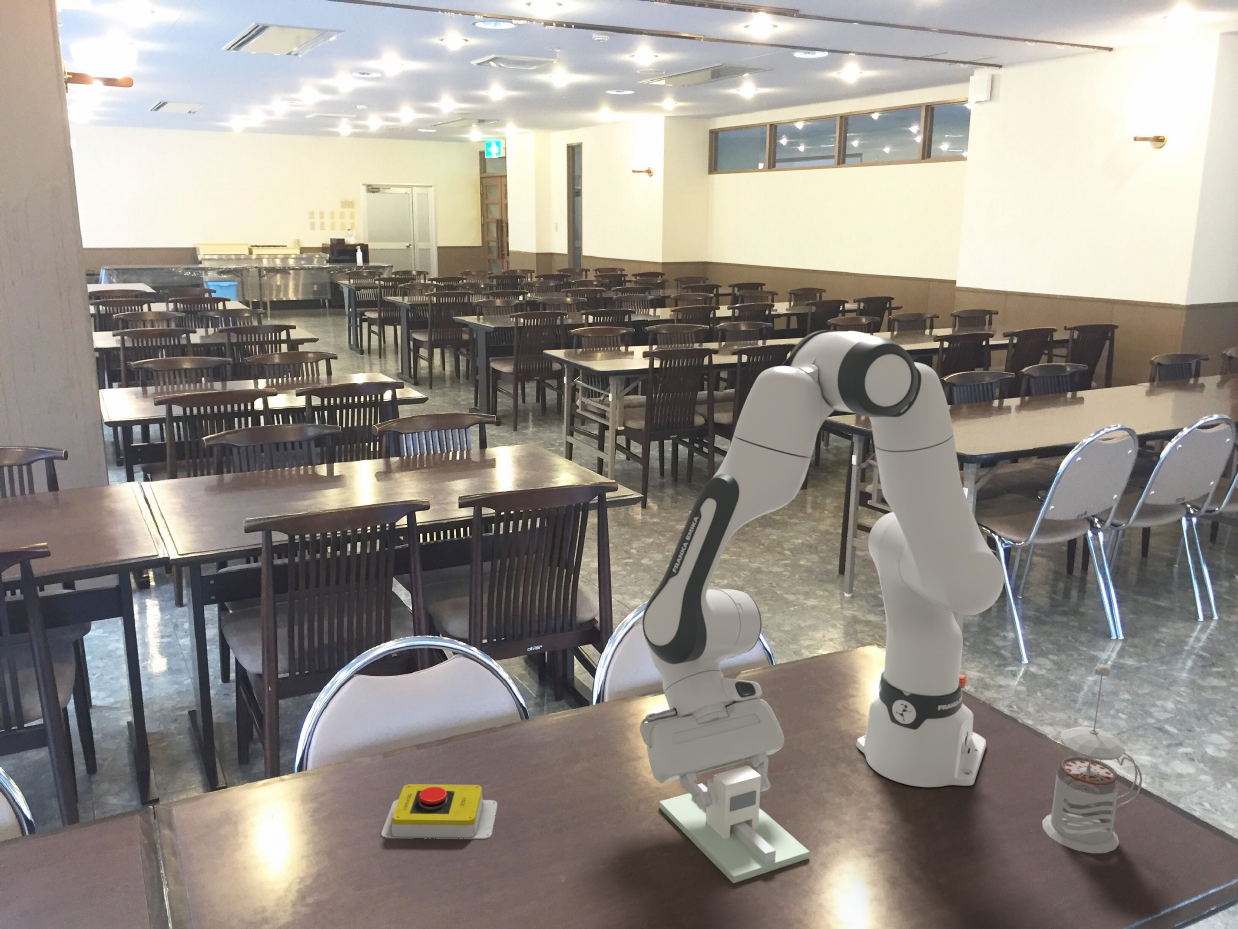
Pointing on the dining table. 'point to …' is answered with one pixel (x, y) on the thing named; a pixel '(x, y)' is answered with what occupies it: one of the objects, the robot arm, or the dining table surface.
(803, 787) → the dining table surface
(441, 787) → the emergency button
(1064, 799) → the french press
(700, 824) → the rail board
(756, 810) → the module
